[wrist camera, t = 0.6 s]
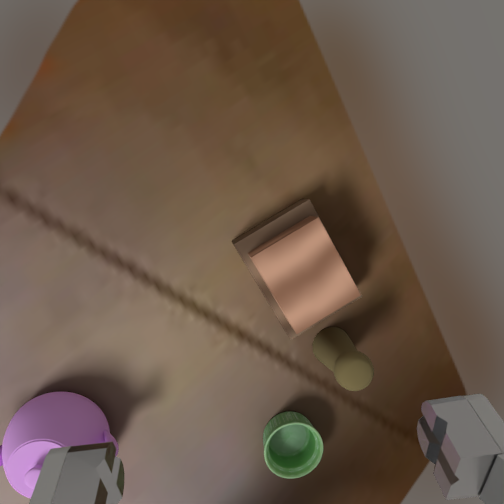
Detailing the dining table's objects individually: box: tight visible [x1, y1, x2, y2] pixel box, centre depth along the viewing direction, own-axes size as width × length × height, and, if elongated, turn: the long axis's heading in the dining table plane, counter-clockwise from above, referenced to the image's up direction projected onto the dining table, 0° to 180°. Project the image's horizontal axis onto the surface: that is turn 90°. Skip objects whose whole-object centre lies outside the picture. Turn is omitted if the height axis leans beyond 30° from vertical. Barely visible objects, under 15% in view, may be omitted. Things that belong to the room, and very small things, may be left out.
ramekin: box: [263, 411, 323, 479], centre depth 63 cm, size 9×9×4 cm
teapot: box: [0, 392, 119, 498], centre depth 55 cm, size 14×20×11 cm
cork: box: [313, 327, 374, 391], centre depth 58 cm, size 6×6×11 cm
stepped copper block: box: [232, 199, 362, 340], centre depth 57 cm, size 16×12×8 cm
